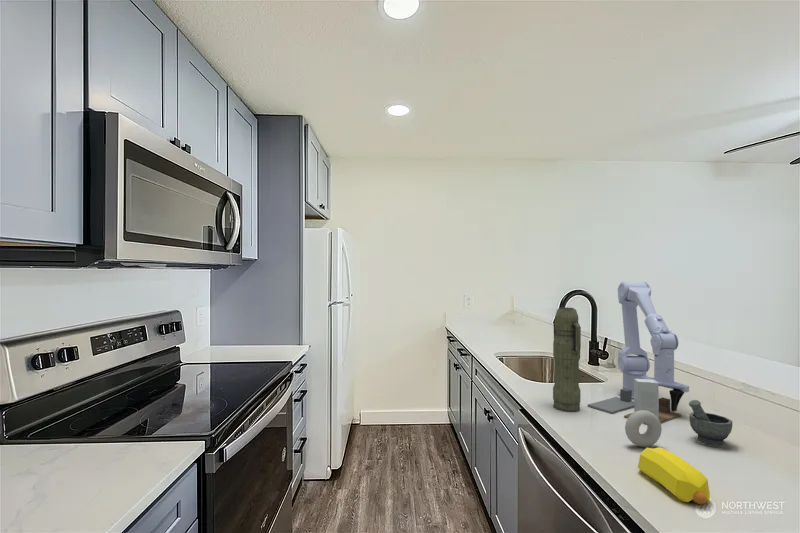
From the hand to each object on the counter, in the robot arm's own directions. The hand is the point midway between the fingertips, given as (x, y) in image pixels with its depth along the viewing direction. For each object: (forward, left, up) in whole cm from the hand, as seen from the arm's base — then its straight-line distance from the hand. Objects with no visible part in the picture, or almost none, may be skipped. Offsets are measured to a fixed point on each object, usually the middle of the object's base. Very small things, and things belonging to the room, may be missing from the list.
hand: (663, 408), depth 142 cm
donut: (+34, +11, -2) cm, 36 cm away
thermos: (+24, -21, -2) cm, 32 cm away
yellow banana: (+50, +26, -2) cm, 57 cm away
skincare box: (+12, 0, -1) cm, 12 cm away
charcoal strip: (+8, -13, -2) cm, 15 cm away
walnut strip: (+7, 0, -2) cm, 8 cm away
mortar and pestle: (+16, +19, -2) cm, 25 cm away
